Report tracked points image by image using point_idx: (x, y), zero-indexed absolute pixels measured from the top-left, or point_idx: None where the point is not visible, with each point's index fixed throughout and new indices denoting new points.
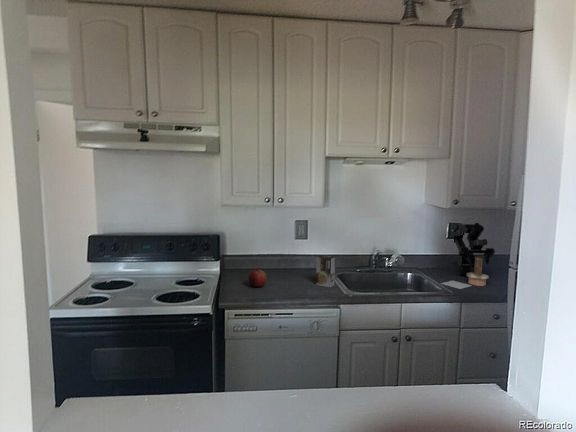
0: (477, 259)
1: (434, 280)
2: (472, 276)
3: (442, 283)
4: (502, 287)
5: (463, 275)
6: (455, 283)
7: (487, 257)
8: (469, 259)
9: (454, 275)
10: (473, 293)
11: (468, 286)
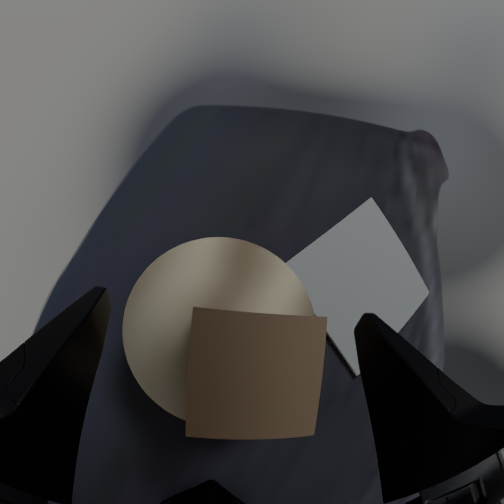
0: (313, 316)
1: (430, 360)
2: (294, 281)
3: (423, 293)
4: (75, 254)
5: (231, 497)
6: (366, 306)
7: (37, 370)
8: (414, 349)
9: (280, 500)
10: (322, 140)
11: (312, 244)
